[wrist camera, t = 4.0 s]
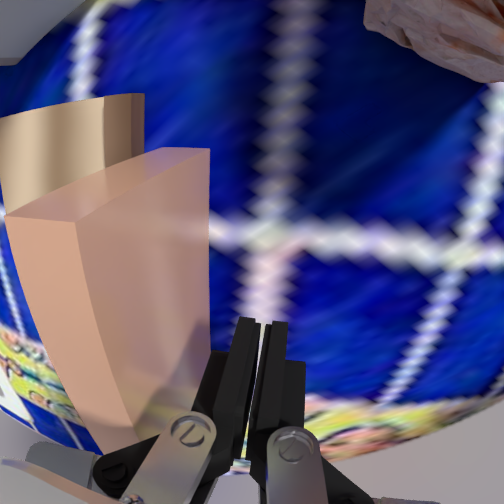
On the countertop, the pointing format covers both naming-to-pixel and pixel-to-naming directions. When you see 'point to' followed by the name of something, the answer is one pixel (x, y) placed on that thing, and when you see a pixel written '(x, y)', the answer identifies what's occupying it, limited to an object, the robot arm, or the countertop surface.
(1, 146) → the tan flat rectangular panel
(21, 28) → the alarm clock
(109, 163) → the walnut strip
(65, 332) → the tile
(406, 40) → the food item
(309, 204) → the countertop surface
